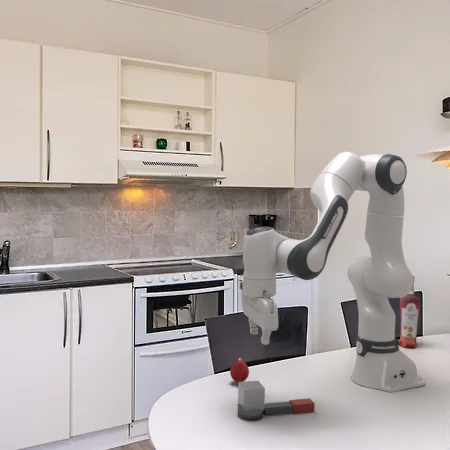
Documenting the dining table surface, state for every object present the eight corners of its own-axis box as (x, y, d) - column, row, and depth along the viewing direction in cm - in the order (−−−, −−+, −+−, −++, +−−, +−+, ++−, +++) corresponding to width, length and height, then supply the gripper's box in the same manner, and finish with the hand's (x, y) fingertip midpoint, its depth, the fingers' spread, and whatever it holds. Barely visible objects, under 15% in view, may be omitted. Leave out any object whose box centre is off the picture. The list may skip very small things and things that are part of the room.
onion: (247, 388, 150) (247, 362, 150) (228, 386, 152) (228, 360, 151) (250, 381, 156) (250, 356, 156) (231, 379, 157) (232, 354, 157)
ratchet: (306, 404, 139) (307, 383, 139) (317, 415, 133) (317, 393, 132) (234, 410, 134) (234, 388, 134) (241, 422, 128) (241, 399, 127)
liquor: (399, 348, 193) (402, 277, 192) (396, 343, 200) (399, 274, 199) (419, 349, 192) (422, 277, 190) (415, 344, 199) (418, 275, 198)
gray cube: (257, 400, 135) (258, 380, 135) (264, 409, 130) (264, 388, 129) (237, 402, 134) (238, 382, 133) (243, 411, 128) (244, 390, 128)
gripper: (284, 295, 124) (284, 349, 125) (258, 280, 143) (258, 327, 144) (260, 296, 122) (260, 351, 123) (237, 281, 142) (237, 329, 143)
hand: (259, 338), depth 134 cm, fingers open, 8 cm apart
